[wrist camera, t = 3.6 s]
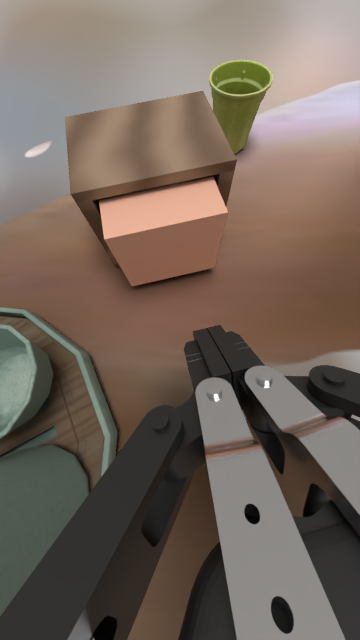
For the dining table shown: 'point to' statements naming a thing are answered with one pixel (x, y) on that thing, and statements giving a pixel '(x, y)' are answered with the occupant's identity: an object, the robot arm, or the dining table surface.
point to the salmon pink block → (165, 229)
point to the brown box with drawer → (145, 151)
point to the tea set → (44, 440)
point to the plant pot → (238, 97)
